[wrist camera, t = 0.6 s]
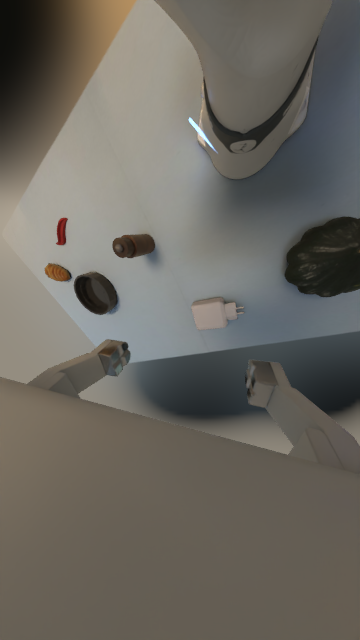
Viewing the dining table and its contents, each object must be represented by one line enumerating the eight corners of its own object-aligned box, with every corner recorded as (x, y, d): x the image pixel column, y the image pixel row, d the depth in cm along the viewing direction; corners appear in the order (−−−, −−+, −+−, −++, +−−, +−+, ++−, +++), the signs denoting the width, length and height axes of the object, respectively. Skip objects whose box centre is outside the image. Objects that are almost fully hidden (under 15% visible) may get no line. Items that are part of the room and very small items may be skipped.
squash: (325, 313, 35) (425, 291, 20) (263, 289, 37) (312, 253, 22) (342, 262, 36) (447, 206, 21) (282, 242, 38) (339, 178, 23)
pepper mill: (138, 234, 44) (104, 235, 32) (154, 234, 42) (124, 235, 31) (140, 253, 46) (110, 260, 35) (155, 253, 45) (128, 261, 34)
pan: (78, 270, 58) (67, 273, 54) (111, 273, 54) (103, 276, 50) (91, 307, 66) (82, 311, 63) (121, 312, 62) (114, 317, 58)
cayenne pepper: (61, 249, 55) (56, 249, 54) (51, 237, 54) (46, 237, 52) (74, 228, 49) (69, 228, 48) (64, 214, 48) (58, 213, 46)
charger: (245, 319, 47) (200, 324, 53) (241, 292, 43) (194, 300, 49) (246, 327, 43) (197, 331, 49) (242, 298, 39) (190, 306, 45)
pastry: (68, 266, 58) (59, 268, 55) (73, 282, 62) (65, 285, 59) (50, 262, 60) (40, 264, 57) (56, 278, 64) (47, 281, 61)
